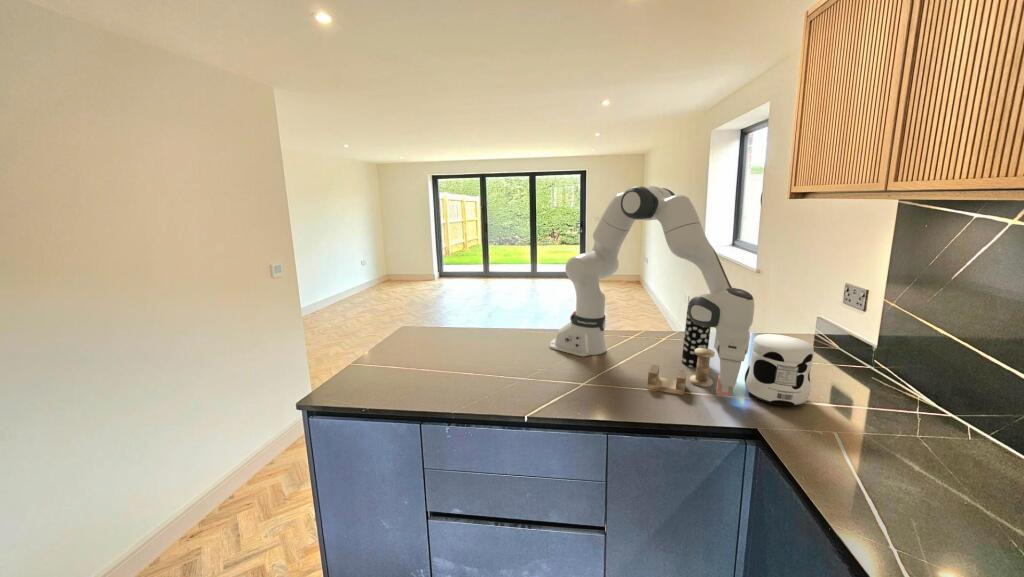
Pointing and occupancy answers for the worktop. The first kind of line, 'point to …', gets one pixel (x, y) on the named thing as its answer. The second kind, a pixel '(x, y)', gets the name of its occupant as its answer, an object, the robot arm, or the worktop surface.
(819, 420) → the worktop surface
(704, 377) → the bobbin
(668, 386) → the notched board
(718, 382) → the orange block
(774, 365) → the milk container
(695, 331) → the white-spotted black cylinder
